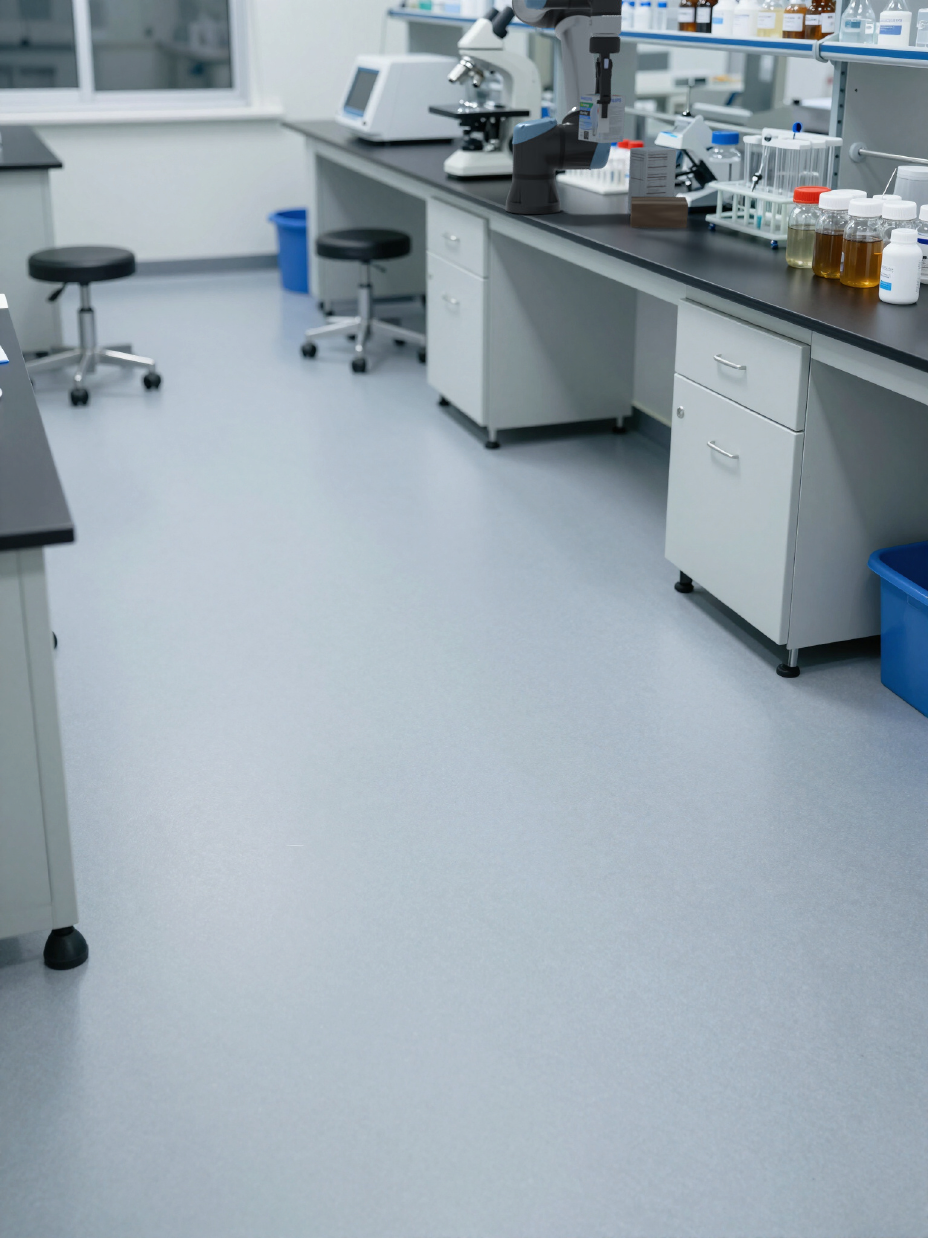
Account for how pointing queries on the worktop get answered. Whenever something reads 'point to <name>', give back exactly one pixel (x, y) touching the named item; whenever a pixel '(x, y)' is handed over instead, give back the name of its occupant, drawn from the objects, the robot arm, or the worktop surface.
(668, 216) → the walnut plinth
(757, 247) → the worktop surface
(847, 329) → the worktop surface
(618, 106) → the light bulb box
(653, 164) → the supplement box
